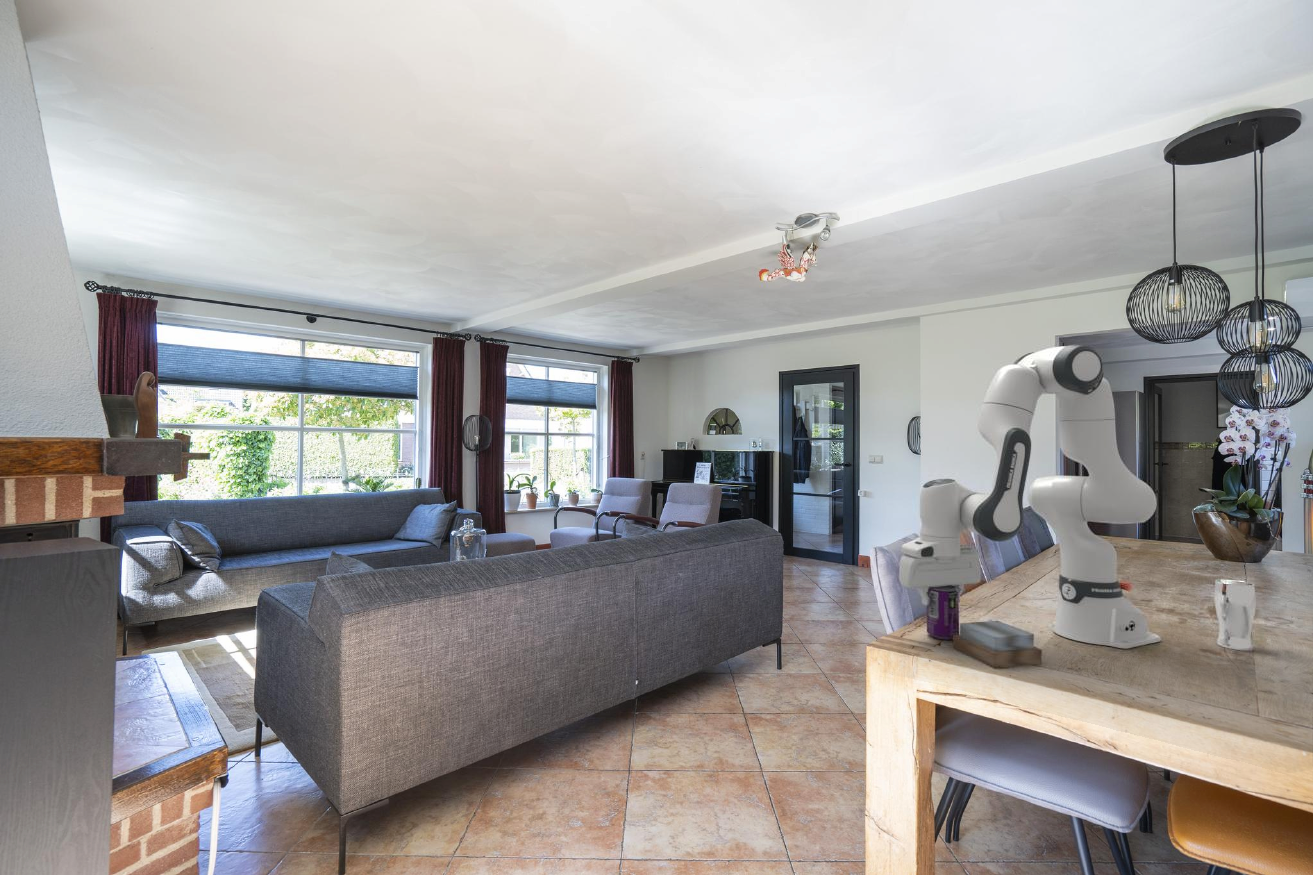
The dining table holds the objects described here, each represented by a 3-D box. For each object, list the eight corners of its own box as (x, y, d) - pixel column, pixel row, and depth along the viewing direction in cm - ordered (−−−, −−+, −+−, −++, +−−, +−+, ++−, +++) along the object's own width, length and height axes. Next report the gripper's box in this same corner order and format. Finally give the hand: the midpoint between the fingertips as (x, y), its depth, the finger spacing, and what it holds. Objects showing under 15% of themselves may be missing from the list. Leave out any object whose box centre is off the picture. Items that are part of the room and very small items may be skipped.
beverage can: (962, 642, 139) (961, 590, 139) (930, 640, 141) (929, 589, 141) (955, 632, 146) (954, 583, 146) (924, 630, 147) (923, 582, 148)
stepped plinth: (997, 644, 138) (997, 619, 138) (1041, 663, 126) (1041, 635, 126) (953, 648, 135) (953, 622, 135) (993, 667, 124) (993, 639, 124)
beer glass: (1247, 644, 140) (1247, 580, 140) (1262, 653, 133) (1262, 586, 134) (1208, 639, 143) (1208, 577, 143) (1221, 648, 136) (1221, 583, 136)
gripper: (968, 541, 148) (969, 596, 148) (894, 546, 144) (895, 602, 144) (987, 546, 142) (987, 603, 142) (911, 551, 138) (911, 610, 138)
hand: (940, 603), depth 143 cm, fingers closed on beverage can, 6 cm apart
